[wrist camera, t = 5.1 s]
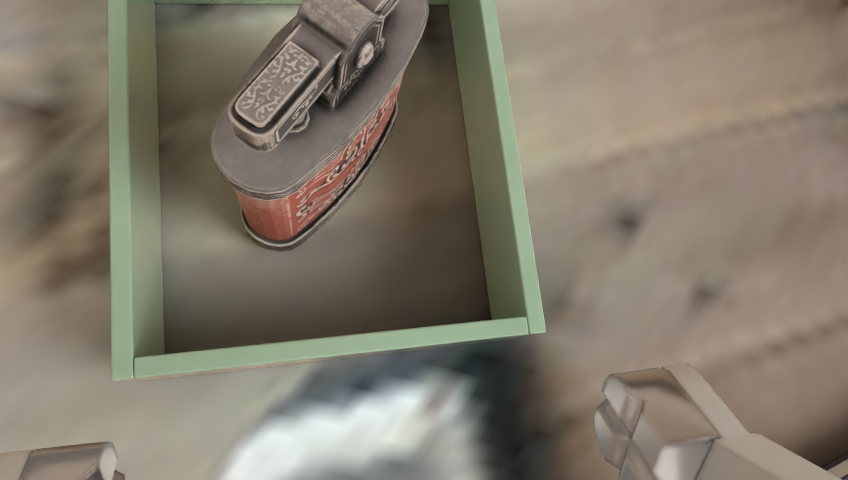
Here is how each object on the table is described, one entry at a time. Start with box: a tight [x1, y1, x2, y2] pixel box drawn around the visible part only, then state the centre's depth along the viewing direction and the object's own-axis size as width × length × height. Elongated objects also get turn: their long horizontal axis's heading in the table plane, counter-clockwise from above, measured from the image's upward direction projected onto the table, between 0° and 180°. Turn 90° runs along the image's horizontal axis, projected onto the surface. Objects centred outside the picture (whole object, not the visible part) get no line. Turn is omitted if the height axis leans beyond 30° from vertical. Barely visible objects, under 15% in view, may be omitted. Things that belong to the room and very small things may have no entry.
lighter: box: [210, 0, 429, 251], centre depth 19 cm, size 8×3×10 cm, turn 146°
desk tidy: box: [107, 0, 546, 381], centre depth 22 cm, size 13×15×4 cm
